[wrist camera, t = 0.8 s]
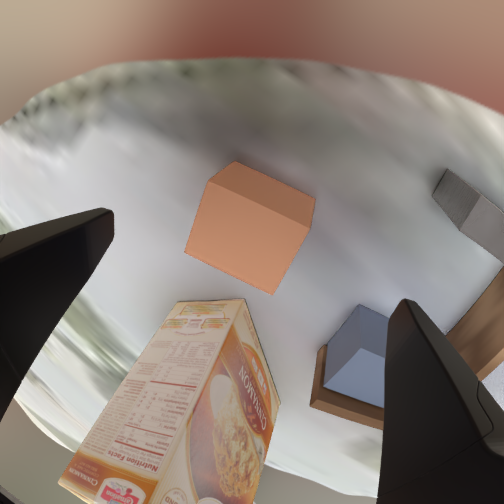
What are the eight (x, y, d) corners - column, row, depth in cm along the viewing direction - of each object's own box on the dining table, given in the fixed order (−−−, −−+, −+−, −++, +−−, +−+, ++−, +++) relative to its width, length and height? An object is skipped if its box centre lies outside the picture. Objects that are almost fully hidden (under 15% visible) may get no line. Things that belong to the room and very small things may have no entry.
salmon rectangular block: (285, 255, 23) (272, 295, 19) (212, 220, 24) (184, 252, 19) (315, 198, 21) (310, 228, 17) (234, 160, 21) (207, 180, 17)
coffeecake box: (282, 403, 32) (235, 566, 15) (223, 400, 34) (163, 545, 18) (247, 295, 26) (141, 529, 9) (174, 300, 28) (51, 481, 12)
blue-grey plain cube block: (381, 365, 26) (383, 408, 22) (327, 342, 26) (323, 386, 22) (415, 330, 24) (424, 374, 19) (359, 303, 24) (360, 347, 20)
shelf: (404, 387, 27) (407, 436, 22) (317, 352, 27) (309, 406, 22) (533, 240, 17) (570, 281, 12) (446, 167, 17) (483, 197, 12)
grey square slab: (492, 239, 18) (524, 280, 13) (431, 196, 18) (459, 230, 13) (507, 216, 17) (544, 251, 12) (447, 168, 17) (481, 195, 12)
